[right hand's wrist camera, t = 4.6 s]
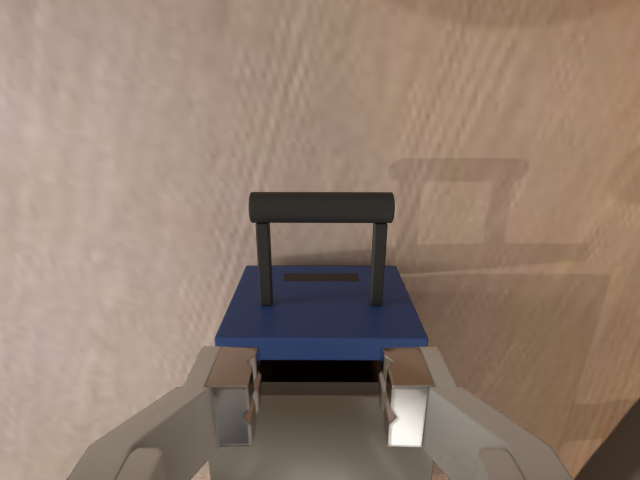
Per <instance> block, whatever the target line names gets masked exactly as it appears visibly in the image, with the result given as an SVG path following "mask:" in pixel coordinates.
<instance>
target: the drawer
mask: <svg viewBox="0 0 640 480" xmlns="http://www.w3.org/2000/svg"><path fill="white" fill-rule="evenodd" d="M394 211H395V202H394V195H393V193H391V192H251V193H250V197H249V217H250V221H251V222H252V223H256V239H257V256H258V266H246V268H245V270H244V273H243V275H242V277H241V279H240V282H239V284H238V286H237V288H236V291H235V293H234V295H233V298H232V300H231V302H230V304H229V307H228V309H227V311H226V313H225V316H224V318H223V320H222V323H221V325H220V327H219V329H218V332H217V334H216V336H215V346H220V347H259V350H260V360H261V361H260V366H259V370H258V371H259V372H260V373H261V375H262V382H378V377H379V373H380V372H381V371H382V370H381V365H380V361H379V360H380V350H381V348H397V347H426V346H428V337H427V335H426V333H425V330H424V328H423V326H422V324H421V321H420V319H419V317H418V315H417V312H416V310H415V308H414V306H413V303H412V301H411V299H410V297H409V295H408V292H407V290H406V288H405V286H404V283H403V281H402V279H401V277H400V274H399V272H398V270H397V268H396V266H385V255H386V240H387V223H392V221H393V218H394ZM270 223H373V241H372V260H371V266H272V263H271V241H270Z"/></svg>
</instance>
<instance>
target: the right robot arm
mask: <svg viewBox="0 0 640 480" xmlns="http://www.w3.org/2000/svg"><path fill="white" fill-rule="evenodd" d="M260 361H261V360H260V350H259V347H220V346H204V347H202V348H201V349H200V351H199V353H198V355H197V357H196V359H195V361H194V363H193V366H192V368H191V370H190V372H189V374H188V376H187V378H186V380H185V382H184V384H183V386H182V387H176V388H175V389H173V390H172V391H170V392H169V393H167V394H166V395H164V396H163V397H161V398H160V399H158V400H157V401H155V402H154V403H152V404H151V405H149V406H148V407H146V408H145V409H143V410H142V411H140V412H139V413H137V414H136V415H134V416H133V417H131V418H130V419H128V420H127V421H125V422H124V423H122V424H121V425H119V426H118V427H116V428H115V429H113V430H112V431H110V432H109V433H107V434H106V435H104V436H103V437H102V438H100V439H99V440H97V441H96V442H94V443H93V444H91V445H90V446H89V447H88V448H87V450H86V451H85V453H84V454H83V456H82V457H81V459H80V460H79V462H78V463H77V465H76V466H75V468H74V469H73V471H72V472H71V474H70V475H69V477H68V478H67V480H191V479H192V477H193V476H194V475H195V474H196V473H197V472H198V471H199V470H200V469H201V467H202V466H203V465H204V464H205V463H206V462H207V461H208V460H209V459H210V457H211V456H212V455H213V454H214V453H215V452H216V451H217V450H218V447H240V446H252V445H253V440H254V435H255V430H256V425H257V423H256V413H258V412H259V409H260V404H261V394H262V375H261V373H260V372H259V371H258V370H259V366H260ZM379 361H380V365H381V370H382V371H381V372H380V373H379V377H378V396H379V404H380V409H381V412H383V413H384V424H383V425H384V430H385V435H386V439H387V444H388V446H400V447H422V449H423V450H424V451H425V453H426V454H427V455H428V456H429V457H430V458H431V459H432V460H433V462H434V463H435V464H436V465H437V466H438V467H439V468H440V469H441V470H442V472H443V473H444V474H445V475H446V476H447V477H448V478H449V479H450V480H573V478H572V477H571V475H570V474H569V472H568V471H567V469H566V467H565V466H564V464H563V463H562V461H561V460H560V458H559V457H558V455H557V454H556V452H555V451H554V449H553V448H552V446H550V445H549V444H547V443H546V442H544V441H543V440H541V439H540V438H538V437H537V436H535V435H534V434H532V433H531V432H529V431H528V430H526V429H525V428H523V427H522V426H520V425H519V424H518V423H516V422H515V421H513V420H512V419H510V418H509V417H507V416H506V415H504V414H503V413H501V412H500V411H498V410H497V409H495V408H494V407H492V406H491V405H489V404H488V403H486V402H485V401H483V400H482V399H480V398H479V397H477V396H476V395H474V394H473V393H471V392H470V391H469V390H467V389H466V388H464V387H458V386H457V384H456V382H455V380H454V378H453V376H452V374H451V372H450V370H449V368H448V366H447V364H446V362H445V360H444V357H443V355H442V353H441V351H440V349H439V348H438V347H437V346H426V347H397V348H381V350H380V360H379Z"/></svg>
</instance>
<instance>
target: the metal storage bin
mask: <svg viewBox="0 0 640 480" xmlns="http://www.w3.org/2000/svg"><path fill="white" fill-rule="evenodd" d="M256 423H257V425H256V430H255V435H254V440H253V445H252V446H240V447H218V450H217V451H216V452H215V453H214V454H213V455H212V456H211V457H210V459H209V460H208V463H209V471H210V478H211V480H431V479H432V472H433V464H434V462H433V460H432V459H431V458H430V457H429V456H428V455H427V454H426V453H425V451H424V450H423V449H422V447H400V446H388V444H387V439H386V435H385V430H384V425H383V424H384V413H383V412H381V409H380V404H379V396H378V382H262V394H261V404H260V409H259V412H258V413H256Z"/></svg>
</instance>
